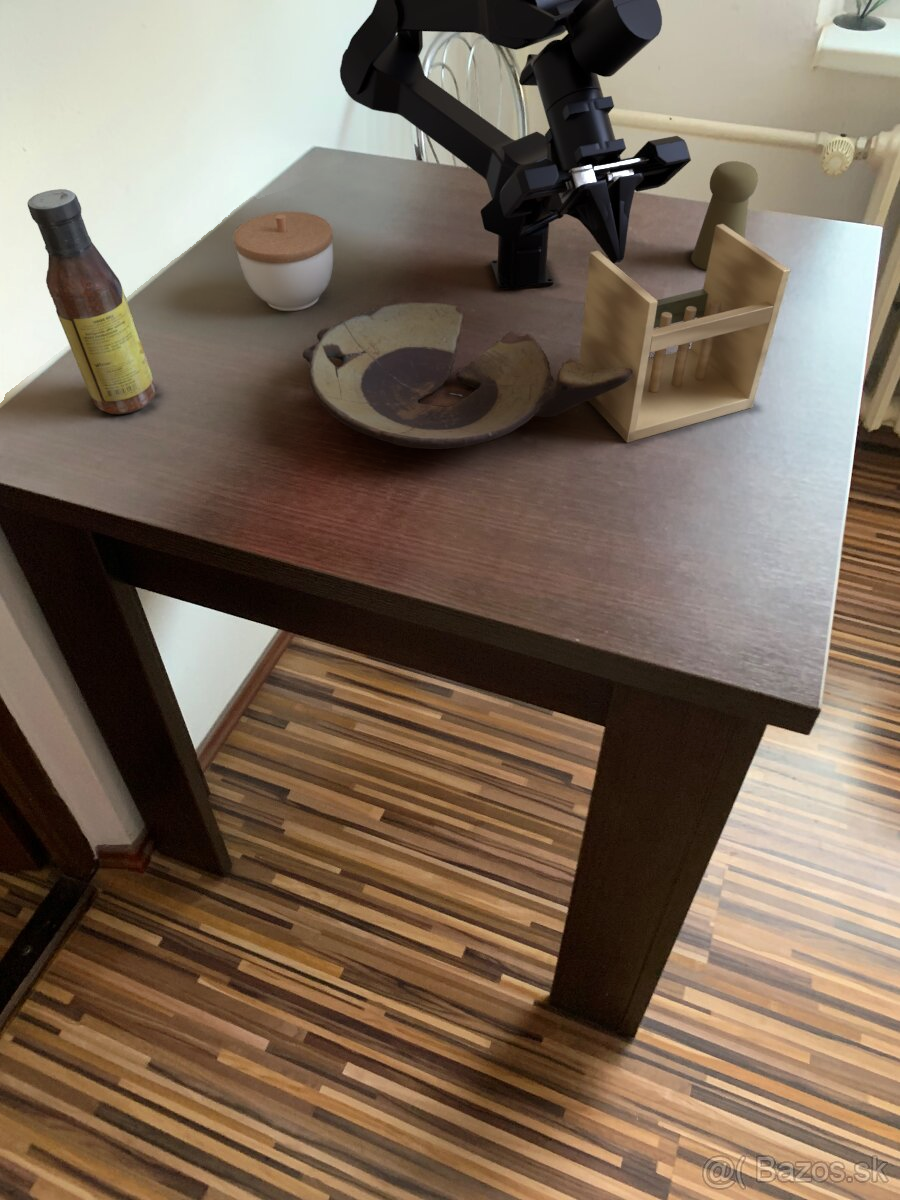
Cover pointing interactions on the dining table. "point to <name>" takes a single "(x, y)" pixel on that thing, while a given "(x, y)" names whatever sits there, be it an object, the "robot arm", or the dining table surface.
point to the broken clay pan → (440, 378)
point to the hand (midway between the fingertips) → (618, 261)
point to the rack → (682, 339)
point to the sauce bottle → (92, 307)
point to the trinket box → (286, 258)
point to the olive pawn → (725, 205)
